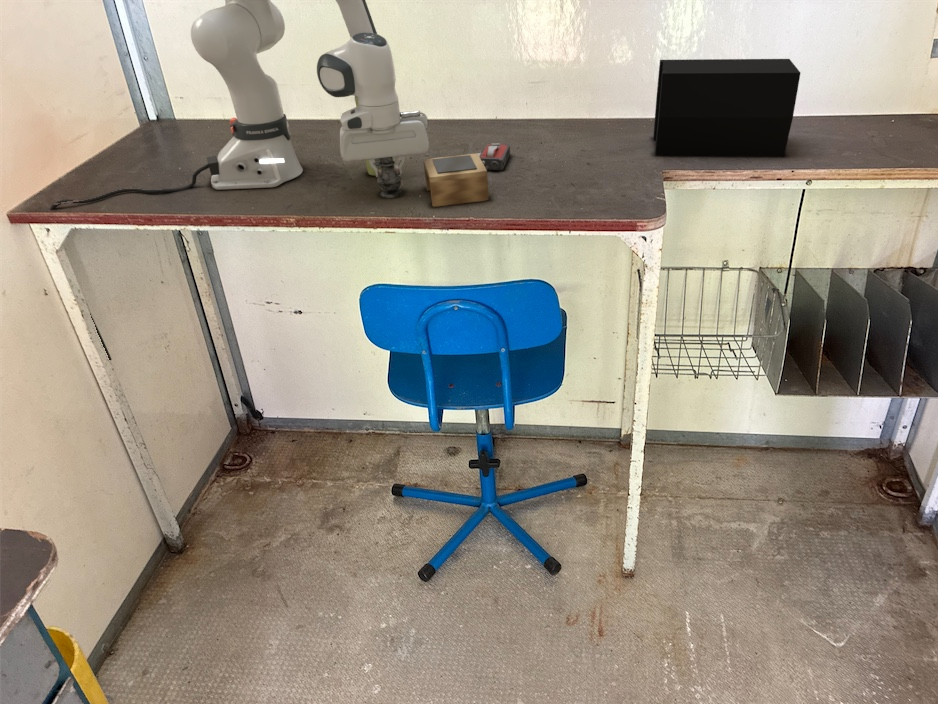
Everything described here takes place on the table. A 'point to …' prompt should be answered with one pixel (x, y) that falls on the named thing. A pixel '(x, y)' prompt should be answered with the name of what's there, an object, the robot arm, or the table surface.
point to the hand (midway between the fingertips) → (388, 175)
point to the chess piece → (389, 179)
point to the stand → (456, 179)
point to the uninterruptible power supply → (725, 107)
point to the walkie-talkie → (495, 156)
